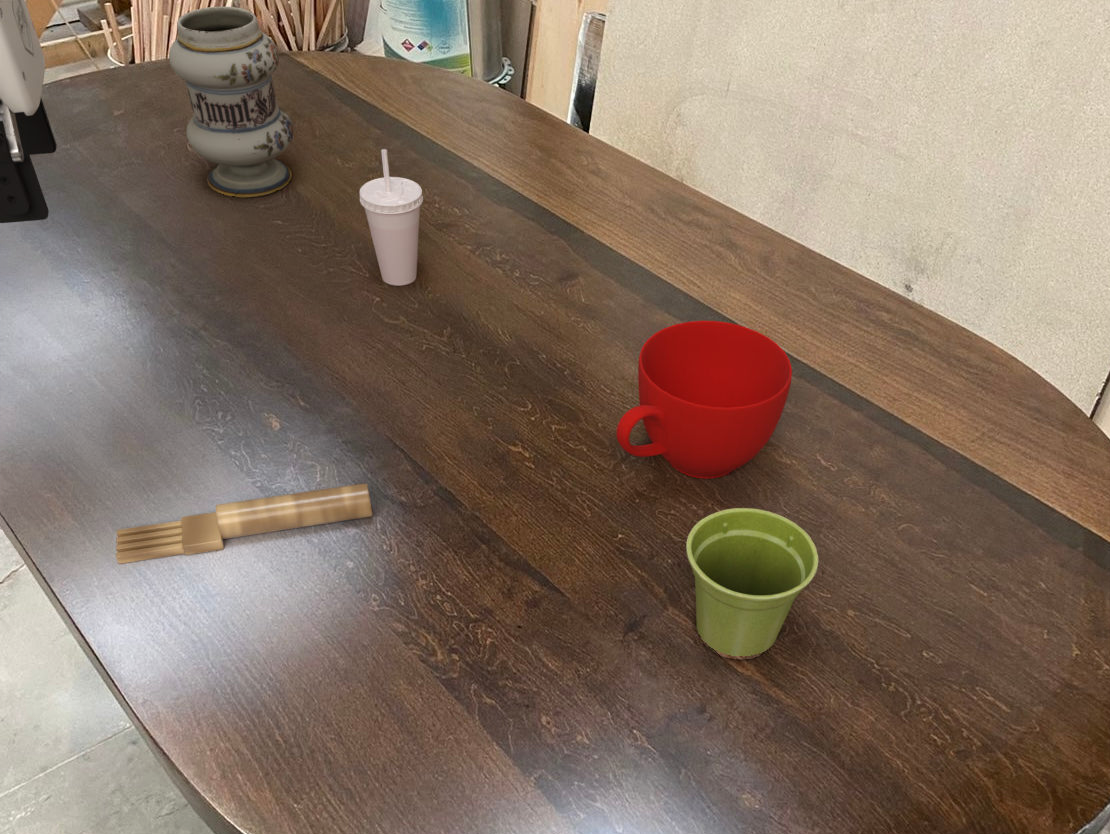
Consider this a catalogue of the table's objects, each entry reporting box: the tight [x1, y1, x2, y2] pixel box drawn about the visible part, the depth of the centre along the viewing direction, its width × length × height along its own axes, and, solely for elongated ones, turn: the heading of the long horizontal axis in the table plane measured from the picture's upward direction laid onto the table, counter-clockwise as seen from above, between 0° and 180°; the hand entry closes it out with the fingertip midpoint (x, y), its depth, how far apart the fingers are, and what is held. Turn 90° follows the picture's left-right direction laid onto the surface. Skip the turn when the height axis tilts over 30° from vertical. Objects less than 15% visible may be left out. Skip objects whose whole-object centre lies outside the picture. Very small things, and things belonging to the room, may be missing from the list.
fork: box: [115, 482, 373, 565], centre depth 86 cm, size 20×4×3 cm, turn 106°
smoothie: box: [359, 148, 424, 287], centre depth 110 cm, size 6×6×14 cm
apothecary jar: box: [168, 6, 294, 198], centre depth 123 cm, size 12×12×18 cm
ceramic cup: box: [616, 320, 793, 480], centre depth 92 cm, size 13×17×10 cm
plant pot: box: [685, 507, 819, 657], centre depth 79 cm, size 9×9×9 cm
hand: (28, 184), depth 72 cm, fingers open, 9 cm apart
